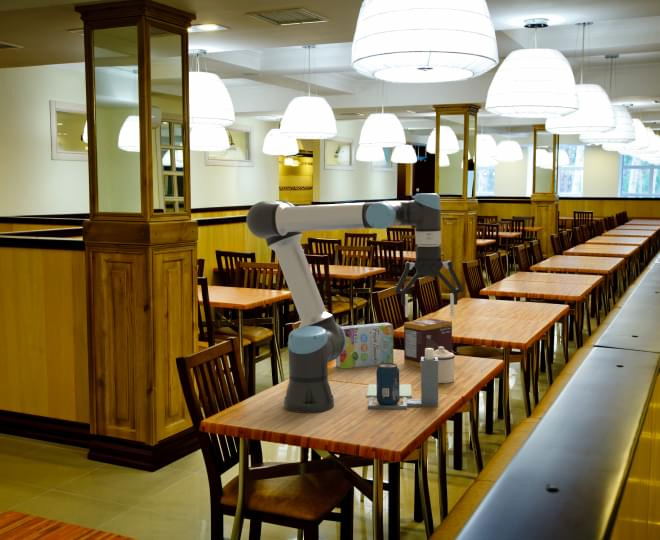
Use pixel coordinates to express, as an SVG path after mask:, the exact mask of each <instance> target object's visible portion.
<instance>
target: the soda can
mask: <svg viewBox="0 0 660 540" xmlns="http://www.w3.org/2000/svg"><path fill="white" fill-rule="evenodd" d="M375 376H376V384H377V397H376V402H377V403H378V405H399V402H400V399H401V398H400V393H399V384H400V369H399V367H398V364H397V363H382V364H379V365H377V369H376V375H375Z"/></svg>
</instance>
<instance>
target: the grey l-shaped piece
mask: <svg viewBox="0 0 660 540" xmlns="http://www.w3.org/2000/svg"><path fill="white" fill-rule="evenodd" d="M374 403H375V397H369V401H368V405H367V406H368V409H369V410H408V408H411V407H412V408H414V407H415V408H423V407H427V406H438V407H439V383H438V357H434V360H425V357H421V367H420V398H402V404H397V405H379V404H374Z"/></svg>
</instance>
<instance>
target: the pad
mask: <svg viewBox="0 0 660 540" xmlns="http://www.w3.org/2000/svg"><path fill="white" fill-rule="evenodd" d="M399 393H400V397H401V398H402V399H403V398H404V397H408V398H407V399H412V384H411V383H410V384H409V383H407V384H405V383H403V384H401V383H399ZM365 397H366V398H370V397H374V398H377V383H369V384H368V386H367V392H366V395H365ZM401 398H400V399H401Z"/></svg>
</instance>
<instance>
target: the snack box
mask: <svg viewBox="0 0 660 540" xmlns="http://www.w3.org/2000/svg"><path fill="white" fill-rule="evenodd" d="M340 327H341V328H342V329H343V330H344V332H345V335H346V346H345V349H344V351H343V352H342V353H341V355H340V356H339V357H338V358H336V359H335V366H336V367H337V368H339V369H341V370H344V369H351V368H352V367H353V368H362V366H364V367H373V366H378V365H379V364H382V363H394V362H395V361H394V325H393V324H392V323H389V322H380V323H379V322H378V323H367V324H357V325H356V324H355V325H345V326H340ZM394 364H395V363H394ZM343 368H344V369H343Z"/></svg>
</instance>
